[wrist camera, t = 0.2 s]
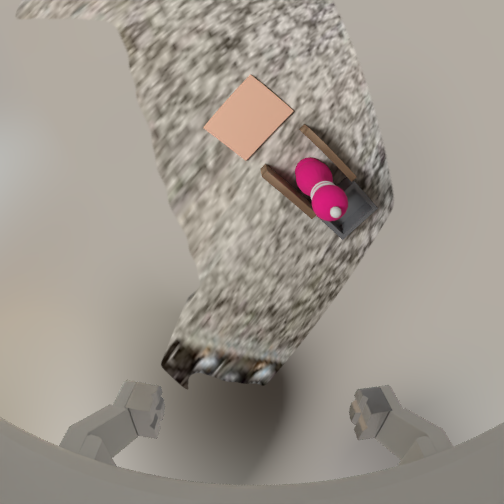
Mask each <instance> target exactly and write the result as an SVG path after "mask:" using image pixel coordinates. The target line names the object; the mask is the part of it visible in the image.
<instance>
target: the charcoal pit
mask: <svg viewBox="0 0 504 504" xmlns="http://www.w3.org/2000/svg"><path fill="white" fill-rule="evenodd" d="M337 186H338V187H339V188H341V189H342V190H343V191H344V192H345V194H346V196H347V199H348V208H347V211H346V213H345V214H344V215H343V216H342V217H341V218H340V219H338V220H335V221H325V220H322V219H321V218H320V219H321V220H322V221H323V222H324V223H325V224H326V225H327V226H328V227H329V228H330V229H332V230H333V231H334V232H335V233H336V234H337V235H338V236H339V237H340V238H341V239H342V240H343V239H344V238H345V237H346V236H348V235H349V234H350V233H351V232H352V231H353V230H354V229H355V228H357V227H358V226H359V225H360V224H361V223H362V222H363V221H364V220H365V219H367V218H368V217H369V216H370V215H371V214H372V213H373V212H374V211H375V210H376V209H377V206H376V205H375V204H374V203H373V202H372V201H371V199H370V198H369V197H368V196H367V195H366V194H365V193H364V191H363V190H362V189H361V188H360V187H359V186H358V185H357V184H356V183H355V181H354V180H353V181H352V182H351V181H350V180H349V178H348V177H346V178H345V179H344V180H343V181H342V182H340V183H339V184H338V185H337ZM317 217H318V216H317ZM318 218H319V217H318Z"/></svg>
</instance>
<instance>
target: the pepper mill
mask: <svg viewBox="0 0 504 504" xmlns="http://www.w3.org/2000/svg"><path fill="white" fill-rule="evenodd" d="M295 175H296V182H297V185H298V187H299V188H300V190H301V191H302V192H303V193H304V194H306V195H308V196H311V200H312V208H313V211H314V212H315V214H316V215H317V216H318V217H319V218H321V219H322V220H325V221H335V220H338V219H340V218H341V217H342V216H343V215H344V214H345V213H346V211H347V208H348V199H347V196H346V194H345V192H344V191H343V190H342V189H341V188H339V187H338V186H336V185H335V184H333V178H332V173H331V171H330V169H329V168H328V166H327V165H325V164H324V163H322V162H320V161H319V160H318V159H316V158H311V157H310V158H305V159H303V160H301V161H300V162H299V163H298V164H297V166H296V169H295Z"/></svg>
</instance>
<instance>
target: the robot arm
mask: <svg viewBox="0 0 504 504" xmlns="http://www.w3.org/2000/svg"><path fill="white" fill-rule="evenodd" d="M161 395H162V389H161V386H158V385H153V384H147V383H142V382H135V381H131V380H126V381H125V382H124V384H123V385H122V387H121V389H120V391H119V393H118V395H117V397H116V400H115V401H114V404H113V405H108V406H106V407H104V408H102V409H101V410H99V411H97V412H95V413H94V414H92V415H90V416H88V417H86V418H85V419H83V420H81V421H79V422H77V423H75V424H73V425H71V426H70V427H69V429H68V430H67V433H66V434H65V436H64V438H63V440H62V441H61V443H60V445H59V446H57V445H54V444H52V443H50V442H47V441H45V440H43V439H41V438H38V437H37V436H35V435H33V434H30V433H28V432H26V431H25V430H23V429H20V428H19V427H17V426H15V425H13V424H11V423H10V422H8V421H6V420H5V419H3V418H1V417H0V504H504V423H502V424H500V425H498V426H496V427H494V428H492V429H490V430H488V431H486V432H484V433H482V434H480V435H478V436H476V437H474V438H472V439H470V440H468V441H466V442H463V443H461V444H459V445H456V446H454V447H453V445H452V443H451V442H450V440H449V438H448V437H447V435H446V433H445V431H444V430H443V429H442V428H440V427H438V426H436V425H434V424H433V423H431V422H429V421H427V420H425V419H424V418H422V417H420V416H418V415H417V414H415V413H413V412H411V411H410V410H408V409H406V408H405V409H403V408H402V406H401V404H400V403H399V400H398V399H397V397H396V395H395V393H394V392H393V390H392V388H391V387H390V386H389V385H385V386H379V387H372V388H364V389H358V390H357V391H356V393H355V395H354V396H355V400H354V401H353V402H352V403H351V406H350V411H349V413H350V419H351V422H352V423H354V424H355V425H356V426H355V428H354V431H355V433H356V436H357V439H358V440H363V439H370V438H375V439H376V440H378V441H379V442H380V443H381V444H382V445H383V446H385V447H386V448H387V449H388V450H389V451H391V452H392V453H393V454H394V455H396V456H397V457H398V458H399V459H400V460H401V461H400V462H399V464H398V465H397V466H396V467H392V468H389V469H385V470H381V471H376V472H372V473H367V474H363V475H358V476H353V477H347V478H341V479H334V480H327V481H319V482H310V483H299V484H283V485H230V484H229V485H228V484H215V483H203V482H194V481H186V480H179V479H172V478H166V477H161V476H156V475H151V474H146V473H141V472H137V471H133V470H129V469H125V468H121V467H117V466H116V464H115V463H114V461H113V459H112V457H114V456H115V455H116V454H118V453H119V452H120V451H121V450H122V449H124V448H125V447H126V446H127V445H129V444H130V443H131V442H132V441H133V440H134V439H136V438H137V437H138V436H143V437H149V438H156V439H157V438H158V434H159V431H160V424H159V422H160V421H161V420H163V416H164V410H165V404H164V399H163V398H162V397H161Z"/></svg>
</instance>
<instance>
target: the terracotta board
mask: <svg viewBox="0 0 504 504" xmlns="http://www.w3.org/2000/svg"><path fill="white" fill-rule="evenodd" d="M292 112H293V110H292V109H291V108H290V107H289V106H288V105H286V104H285V103H284V102H283V101H282V100H281V99H280V98H278V97H277V96H276V95H275V94H274V93H273V92H271V91H270V90H269V89H268V88H267V87H265V86H264V85H263V84H262V83H261V82H259V81H258V80H257V79H256V78H254V77H253V76H252V75H250V76H249V77H248V78H247V79H246V80H245V81H244V82H243V83H242V84H241V85H240V86H239V87H238V88H237V89H236V91H235V92H234V93H233V94H232V95H231V96H230V97H229V98H228V99H227V101H226V102H225V103H224V104H223V105H222V106H221V107H220V108H219V110H218V111H217V112H216V113H215V114H214V115H213V117H212V118H211V119H210V120H209V121H208V123H207V124H206V125H205V126H204V127H203V128H204V129H205V130H207V131H208V132H209V133H211V134H212V135H213V136H215V137H216V138H217V139H219V140H220V141H221V142H223V143H224V144H225V145H226V146H228V147H229V148H230V149H232V150H233V151H234V152H235V153H237V154H238V155H239V156H241V157H242V158H243V159H244V160H247V159H248V158H249V157H250V156H251V155H252V154H253V153H254V152H255V151H256V150H257V149H258V147H259V146H260V145H261V144H262V143H263V142H264V141H265V140H266V139H267V138H268V137H269V136H270V135H271V134H272V133H273V132H274V131H275V130H276V129H277V127H278V126H279V125H280V124H281V123H282V122H283V121H284V120H285V119H286V118H287V117H288V116H289V115H290V114H291V113H292Z"/></svg>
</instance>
